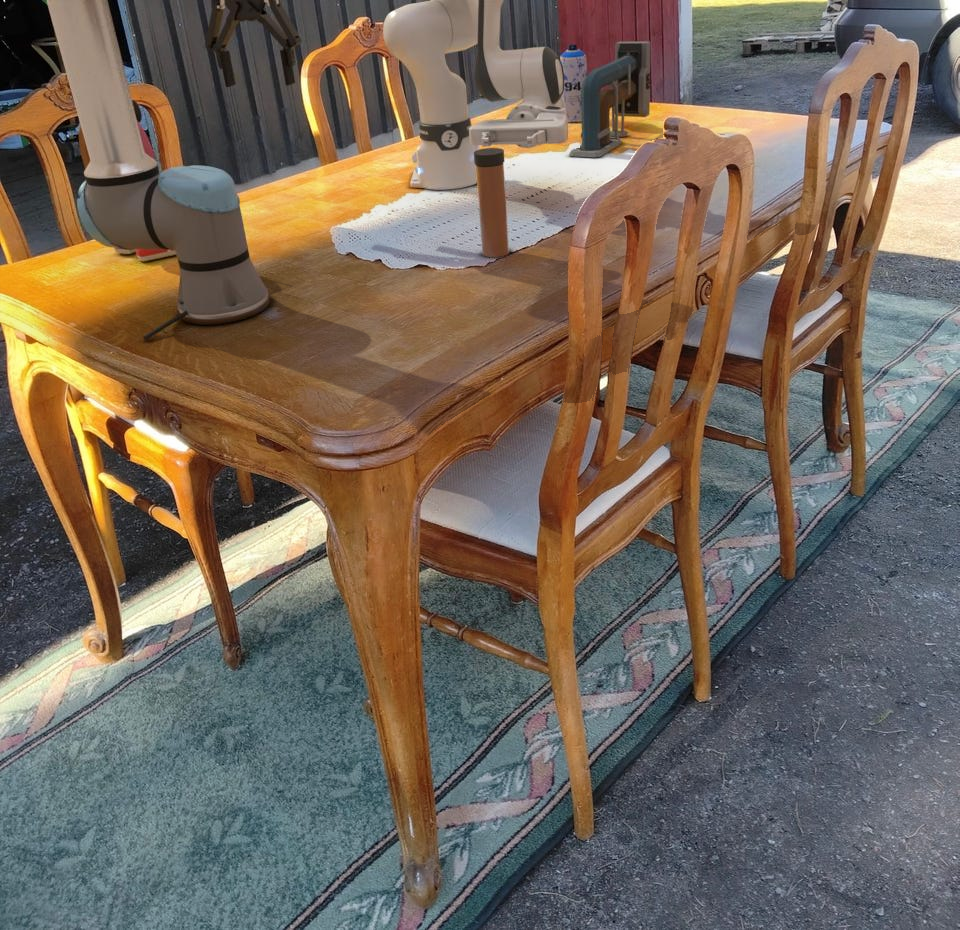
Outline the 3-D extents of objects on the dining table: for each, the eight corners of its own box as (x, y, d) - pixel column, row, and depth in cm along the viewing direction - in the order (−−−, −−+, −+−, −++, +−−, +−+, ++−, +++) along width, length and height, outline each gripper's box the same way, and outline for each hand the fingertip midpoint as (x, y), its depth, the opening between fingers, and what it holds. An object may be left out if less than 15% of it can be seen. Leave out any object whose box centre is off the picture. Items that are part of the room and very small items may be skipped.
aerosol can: (559, 122, 275) (557, 47, 265) (562, 117, 282) (559, 42, 272) (587, 121, 274) (585, 45, 263) (589, 115, 280) (587, 41, 270)
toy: (199, 253, 194) (163, 96, 179) (154, 268, 188) (113, 106, 173) (144, 236, 207) (106, 89, 192) (101, 250, 201) (58, 98, 186)
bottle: (513, 253, 180) (508, 153, 171) (490, 259, 178) (483, 159, 169) (500, 246, 184) (494, 149, 175) (477, 252, 182) (469, 154, 173)
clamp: (599, 157, 237) (598, 64, 226) (566, 156, 241) (564, 64, 230) (649, 126, 263) (650, 41, 252) (618, 125, 267) (618, 41, 256)
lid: (510, 162, 172) (509, 151, 171) (483, 167, 170) (482, 156, 169) (495, 157, 176) (494, 146, 175) (469, 162, 174) (468, 151, 173)
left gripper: (306, -38, 185) (323, 79, 195) (192, -31, 192) (215, 83, 202) (289, -35, 178) (307, 86, 189) (172, -27, 186) (196, 89, 196)
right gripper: (479, 110, 204) (456, 127, 193) (573, 107, 197) (555, 124, 186) (482, 141, 207) (460, 159, 196) (575, 139, 200) (557, 157, 189)
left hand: (260, 85), depth 196 cm, fingers open, 13 cm apart
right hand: (507, 142), depth 191 cm, fingers open, 8 cm apart
